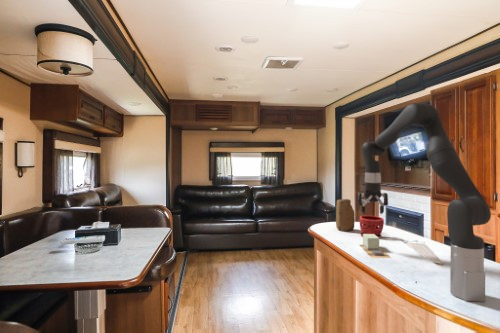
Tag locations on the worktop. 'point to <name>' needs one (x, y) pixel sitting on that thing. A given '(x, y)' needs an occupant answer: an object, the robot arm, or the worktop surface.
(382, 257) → the oak board
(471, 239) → the robot arm
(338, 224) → the block
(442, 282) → the worktop surface
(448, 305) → the worktop surface
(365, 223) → the plant pot
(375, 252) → the gray square tile
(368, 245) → the block
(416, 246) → the baseboard
